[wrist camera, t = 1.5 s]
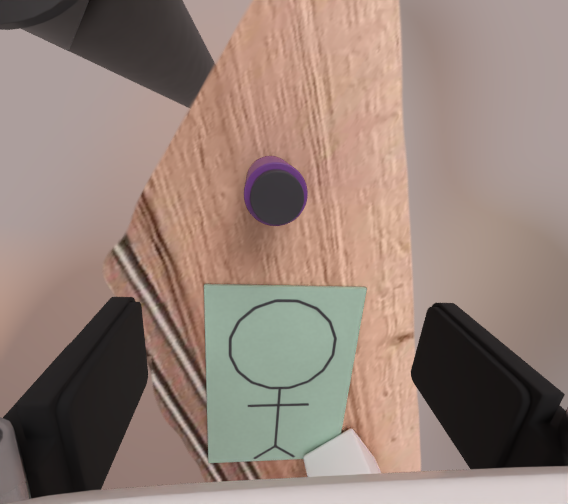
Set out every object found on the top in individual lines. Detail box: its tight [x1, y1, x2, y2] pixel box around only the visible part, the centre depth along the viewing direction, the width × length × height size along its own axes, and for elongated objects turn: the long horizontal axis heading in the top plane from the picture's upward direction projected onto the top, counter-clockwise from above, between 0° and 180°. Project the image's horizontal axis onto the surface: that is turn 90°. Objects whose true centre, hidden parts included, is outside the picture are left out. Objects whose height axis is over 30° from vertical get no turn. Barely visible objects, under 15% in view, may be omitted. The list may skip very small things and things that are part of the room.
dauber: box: [244, 156, 308, 226], centre depth 22 cm, size 4×4×9 cm
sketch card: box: [204, 284, 367, 463], centre depth 34 cm, size 24×16×1 cm, turn 176°
